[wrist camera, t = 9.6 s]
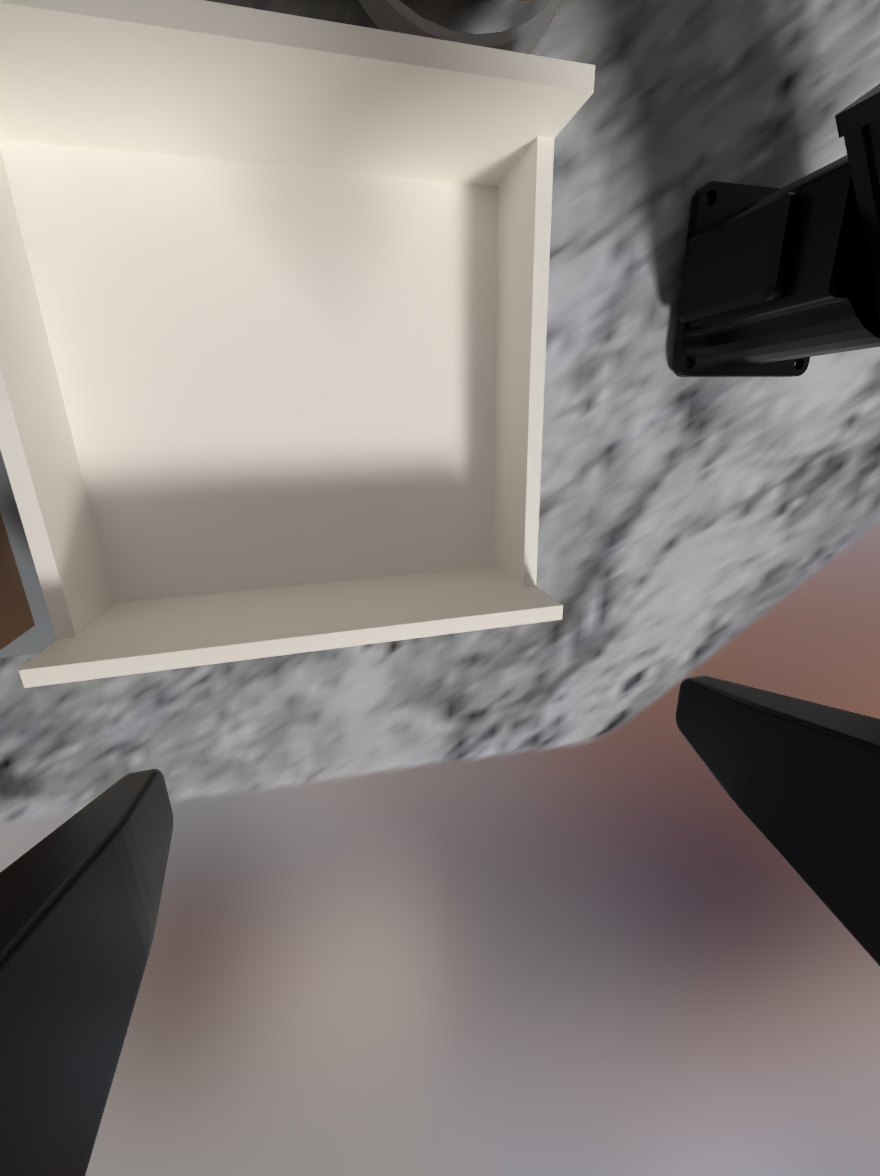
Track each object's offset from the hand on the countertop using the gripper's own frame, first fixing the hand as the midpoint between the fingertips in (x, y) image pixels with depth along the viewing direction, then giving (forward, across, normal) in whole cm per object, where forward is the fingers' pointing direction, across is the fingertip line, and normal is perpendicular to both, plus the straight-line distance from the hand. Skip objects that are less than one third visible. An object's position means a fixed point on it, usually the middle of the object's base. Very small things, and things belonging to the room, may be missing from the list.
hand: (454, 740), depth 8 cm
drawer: (+12, +2, -6) cm, 14 cm away
